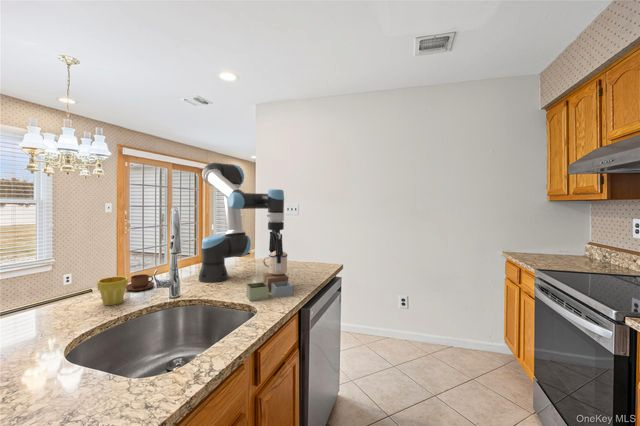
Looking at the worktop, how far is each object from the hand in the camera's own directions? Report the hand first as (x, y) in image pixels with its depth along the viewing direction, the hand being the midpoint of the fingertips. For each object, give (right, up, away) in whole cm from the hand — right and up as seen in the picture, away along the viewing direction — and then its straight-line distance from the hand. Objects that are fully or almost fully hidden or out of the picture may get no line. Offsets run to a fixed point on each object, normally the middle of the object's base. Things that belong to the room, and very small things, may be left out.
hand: (275, 267), depth 145 cm
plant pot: (-65, -11, -20) cm, 69 cm away
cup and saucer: (-65, -10, -1) cm, 66 cm away
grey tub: (+4, -11, -8) cm, 14 cm away
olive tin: (-6, -11, -14) cm, 19 cm away
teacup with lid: (0, -3, +1) cm, 3 cm away
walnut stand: (0, -11, 0) cm, 11 cm away
